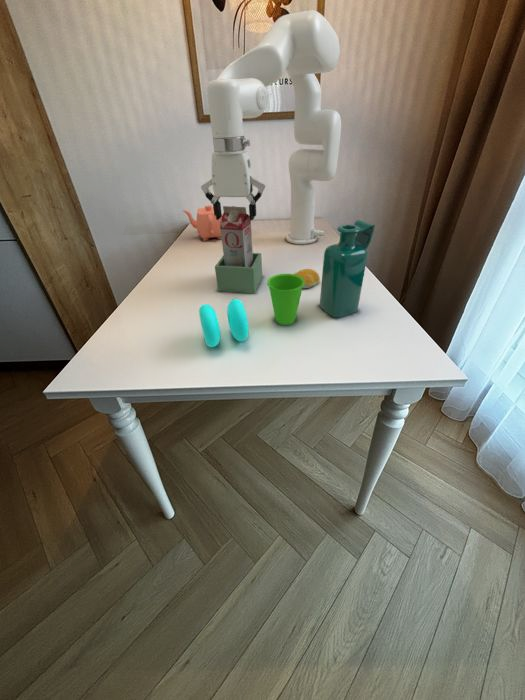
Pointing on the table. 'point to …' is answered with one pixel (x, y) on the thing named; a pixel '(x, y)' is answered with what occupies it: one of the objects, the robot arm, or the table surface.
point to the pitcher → (345, 269)
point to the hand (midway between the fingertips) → (235, 218)
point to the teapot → (206, 223)
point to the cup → (285, 296)
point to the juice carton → (236, 237)
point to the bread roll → (308, 277)
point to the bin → (239, 276)
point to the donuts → (235, 320)
